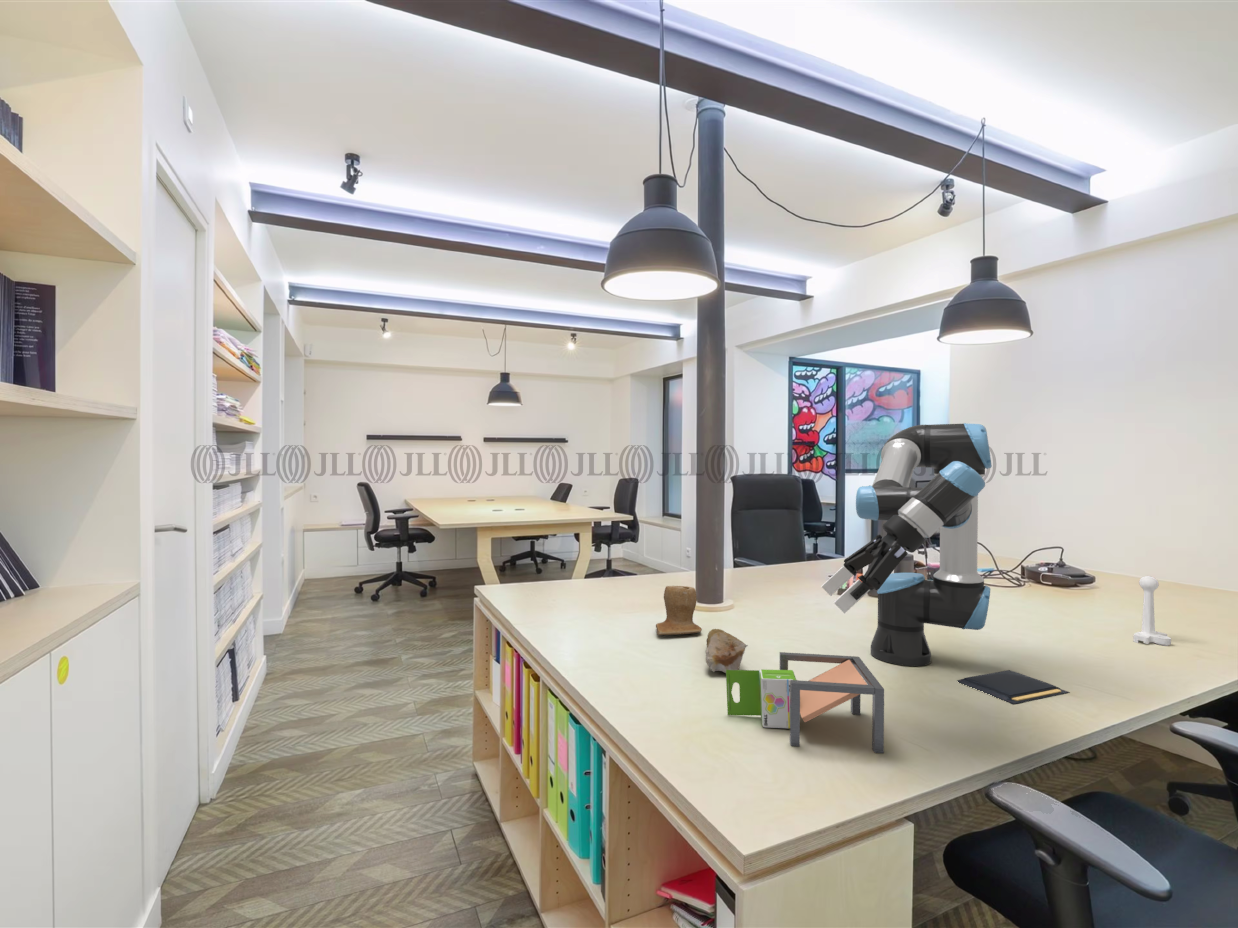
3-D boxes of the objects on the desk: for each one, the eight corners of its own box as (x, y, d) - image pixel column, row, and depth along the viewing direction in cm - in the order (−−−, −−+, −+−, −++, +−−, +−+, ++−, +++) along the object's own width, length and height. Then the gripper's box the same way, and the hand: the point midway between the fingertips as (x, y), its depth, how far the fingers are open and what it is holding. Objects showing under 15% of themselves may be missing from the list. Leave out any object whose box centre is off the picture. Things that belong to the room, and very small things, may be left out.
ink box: (799, 729, 115) (728, 727, 117) (795, 717, 120) (727, 716, 122) (797, 679, 115) (726, 677, 117) (793, 669, 120) (725, 668, 122)
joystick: (1149, 636, 180) (1150, 573, 180) (1180, 643, 173) (1181, 578, 173) (1128, 640, 176) (1129, 575, 176) (1159, 648, 169) (1160, 580, 169)
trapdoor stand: (858, 711, 124) (858, 656, 124) (883, 753, 106) (884, 688, 106) (779, 705, 127) (779, 651, 127) (790, 745, 109) (791, 682, 109)
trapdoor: (851, 663, 122) (849, 659, 122) (870, 688, 108) (867, 684, 109) (793, 693, 124) (791, 689, 124) (804, 722, 110) (801, 717, 110)
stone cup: (692, 625, 188) (692, 580, 188) (705, 636, 177) (706, 588, 177) (648, 628, 185) (648, 582, 185) (659, 639, 173) (659, 590, 173)
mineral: (698, 615, 170) (731, 621, 170) (693, 646, 170) (726, 652, 169) (711, 636, 144) (750, 643, 143) (705, 672, 143) (745, 680, 143)
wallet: (1010, 666, 149) (1073, 688, 135) (1010, 673, 149) (1073, 696, 135) (952, 675, 143) (1012, 699, 128) (952, 682, 143) (1012, 707, 128)
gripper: (950, 550, 100) (860, 631, 103) (905, 531, 125) (833, 597, 128) (918, 519, 101) (829, 600, 104) (879, 507, 126) (808, 573, 129)
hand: (831, 599), depth 116 cm, fingers open, 13 cm apart
